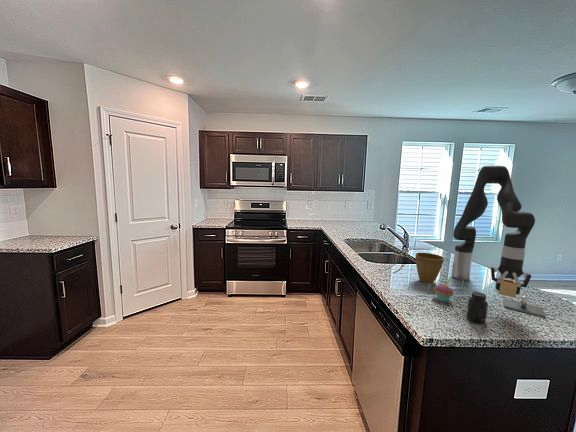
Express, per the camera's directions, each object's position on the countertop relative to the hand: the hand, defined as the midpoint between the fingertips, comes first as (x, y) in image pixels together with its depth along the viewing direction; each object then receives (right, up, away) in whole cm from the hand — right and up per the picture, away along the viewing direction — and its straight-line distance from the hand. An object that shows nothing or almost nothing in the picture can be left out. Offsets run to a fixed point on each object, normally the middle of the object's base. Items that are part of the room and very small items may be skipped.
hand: (507, 292), depth 113 cm
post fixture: (+13, -10, +6) cm, 17 cm away
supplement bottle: (-19, -11, -6) cm, 22 cm away
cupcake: (-21, -8, +14) cm, 26 cm away
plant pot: (-15, -5, +37) cm, 41 cm away
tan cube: (0, -1, 0) cm, 1 cm away
